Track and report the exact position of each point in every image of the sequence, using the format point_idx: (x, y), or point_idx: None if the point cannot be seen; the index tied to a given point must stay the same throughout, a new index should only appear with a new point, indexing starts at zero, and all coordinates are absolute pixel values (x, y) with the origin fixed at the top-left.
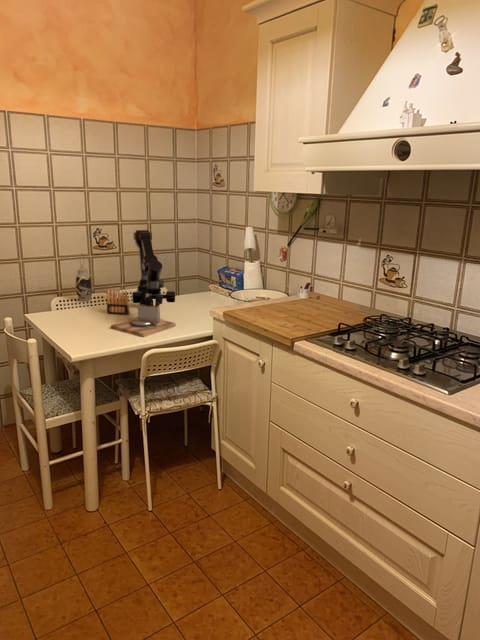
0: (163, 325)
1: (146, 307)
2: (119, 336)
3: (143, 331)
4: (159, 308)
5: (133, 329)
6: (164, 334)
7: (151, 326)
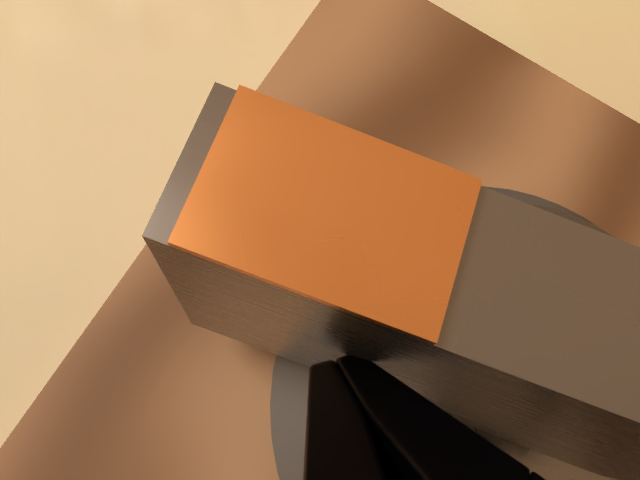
0: (139, 369)
1: (615, 258)
2: (611, 6)
3: (379, 39)
4: (155, 242)
5: (537, 113)
6: (93, 103)
7: None
